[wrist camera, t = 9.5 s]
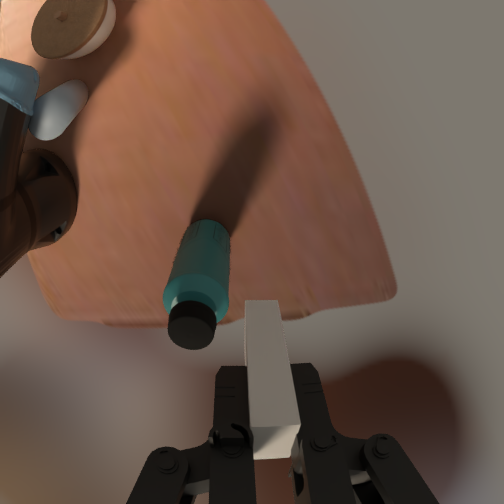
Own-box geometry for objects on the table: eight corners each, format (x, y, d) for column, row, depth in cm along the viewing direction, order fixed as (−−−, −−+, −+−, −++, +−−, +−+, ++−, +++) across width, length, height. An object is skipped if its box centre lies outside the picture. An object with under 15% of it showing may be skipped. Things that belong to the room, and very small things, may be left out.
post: (54, 112, 30) (25, 140, 22) (59, 79, 27) (29, 94, 19) (86, 113, 32) (66, 140, 24) (91, 80, 29) (72, 94, 21)
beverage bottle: (179, 217, 39) (137, 308, 21) (228, 209, 39) (221, 298, 21) (190, 259, 42) (163, 364, 24) (235, 253, 42) (236, 358, 24)
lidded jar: (78, -4, 23) (46, -22, 14) (140, 0, 25) (115, -25, 16) (51, 60, 27) (12, 55, 18) (109, 69, 29) (74, 60, 21)
